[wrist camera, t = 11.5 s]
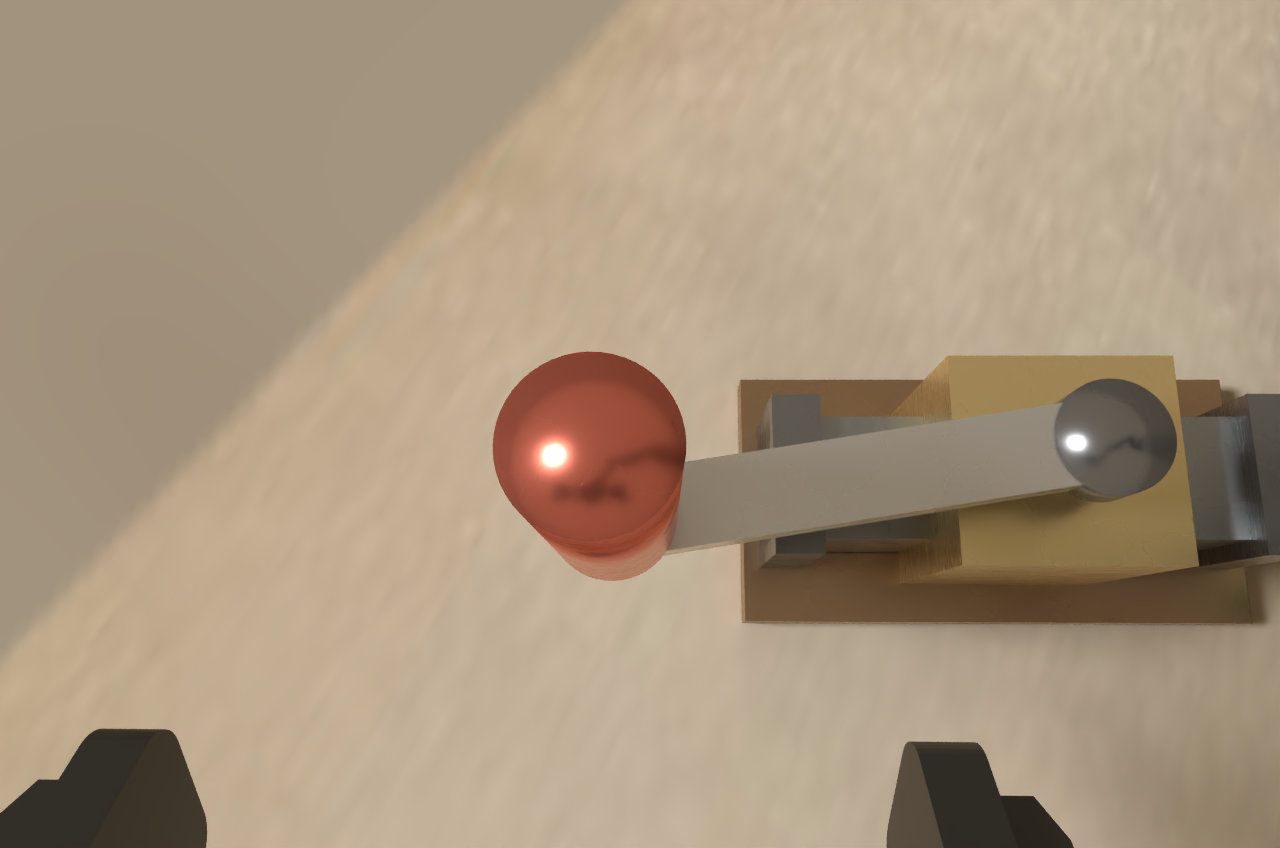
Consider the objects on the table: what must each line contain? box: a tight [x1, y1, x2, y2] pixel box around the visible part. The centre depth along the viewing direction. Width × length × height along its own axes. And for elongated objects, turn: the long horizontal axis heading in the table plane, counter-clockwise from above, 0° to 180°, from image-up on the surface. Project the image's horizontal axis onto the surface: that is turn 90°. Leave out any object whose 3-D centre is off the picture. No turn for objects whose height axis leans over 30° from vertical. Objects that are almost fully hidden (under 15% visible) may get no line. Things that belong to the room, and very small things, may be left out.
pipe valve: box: [738, 356, 1280, 625], centre depth 29 cm, size 16×8×9 cm, turn 90°
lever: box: [493, 352, 1177, 581], centre depth 20 cm, size 15×3×9 cm, turn 99°
